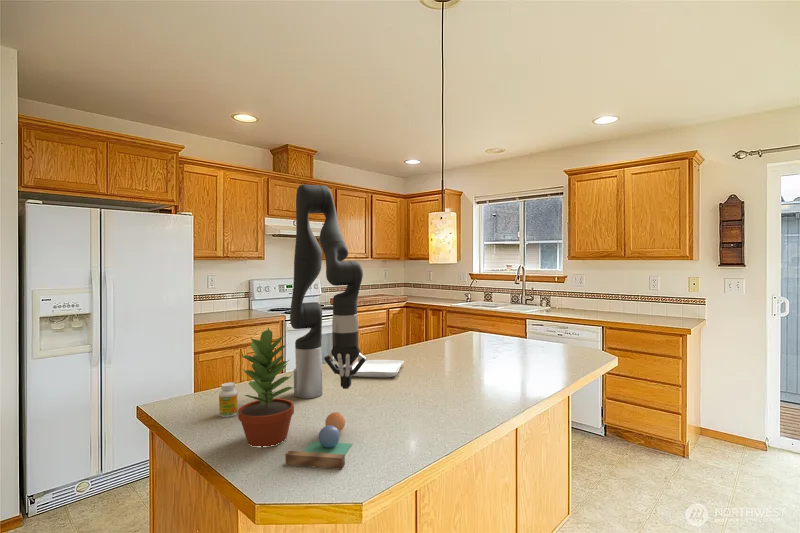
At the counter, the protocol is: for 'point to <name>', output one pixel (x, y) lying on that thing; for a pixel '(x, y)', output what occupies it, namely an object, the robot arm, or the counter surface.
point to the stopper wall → (315, 459)
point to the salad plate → (378, 368)
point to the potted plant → (266, 396)
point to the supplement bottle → (228, 400)
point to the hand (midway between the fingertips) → (346, 388)
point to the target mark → (318, 448)
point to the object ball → (329, 436)
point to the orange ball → (335, 420)
